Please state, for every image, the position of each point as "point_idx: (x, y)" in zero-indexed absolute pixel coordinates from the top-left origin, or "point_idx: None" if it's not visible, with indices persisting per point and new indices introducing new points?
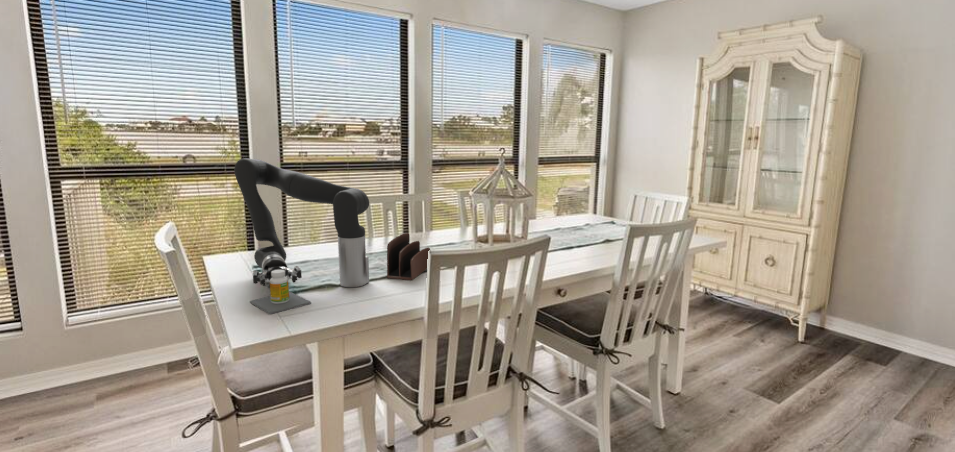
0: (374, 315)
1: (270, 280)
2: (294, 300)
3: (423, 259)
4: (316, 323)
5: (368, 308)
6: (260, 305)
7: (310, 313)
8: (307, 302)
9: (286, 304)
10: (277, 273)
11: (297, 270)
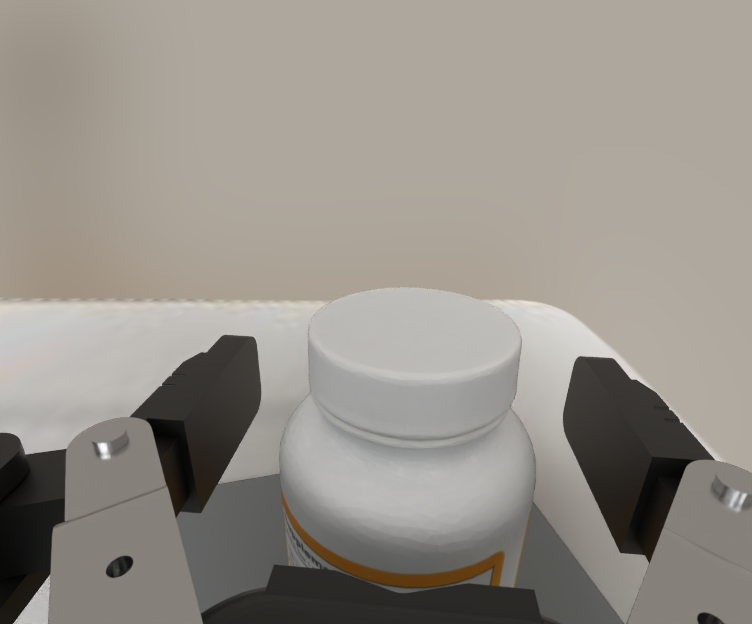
0: (107, 306)
1: (516, 415)
2: (265, 584)
3: None
4: (308, 322)
5: (46, 344)
6: (591, 606)
7: (280, 386)
8: None
9: None
10: (430, 294)
11: (4, 462)
